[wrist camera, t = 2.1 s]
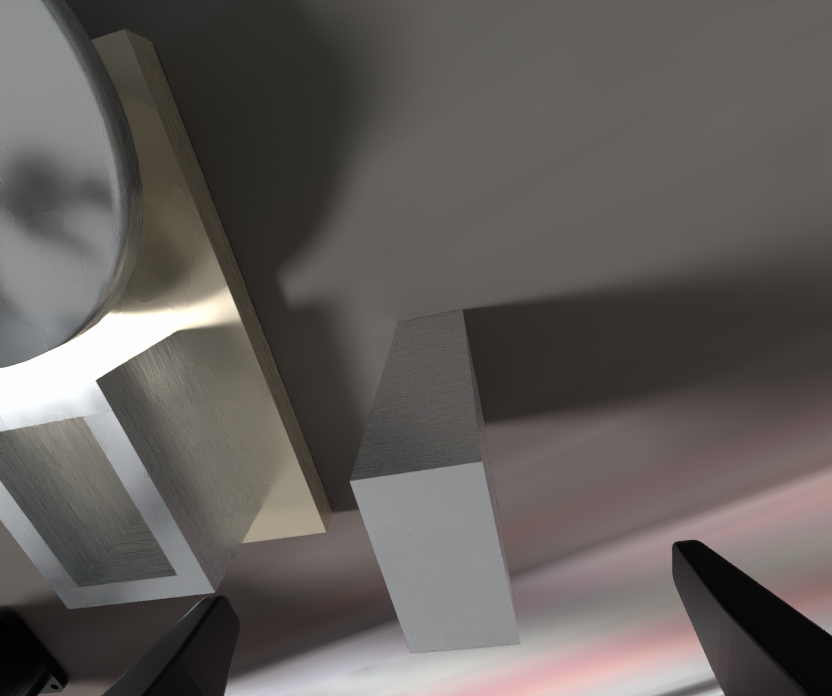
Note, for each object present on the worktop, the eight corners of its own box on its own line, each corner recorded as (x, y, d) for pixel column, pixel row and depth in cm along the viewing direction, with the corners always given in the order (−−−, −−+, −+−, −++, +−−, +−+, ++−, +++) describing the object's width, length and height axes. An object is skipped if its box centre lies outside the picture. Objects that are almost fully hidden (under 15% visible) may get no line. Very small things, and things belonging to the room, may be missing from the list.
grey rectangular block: (484, 422, 18) (519, 643, 9) (425, 431, 18) (410, 653, 10) (462, 309, 16) (482, 461, 8) (397, 322, 16) (349, 480, 8)
